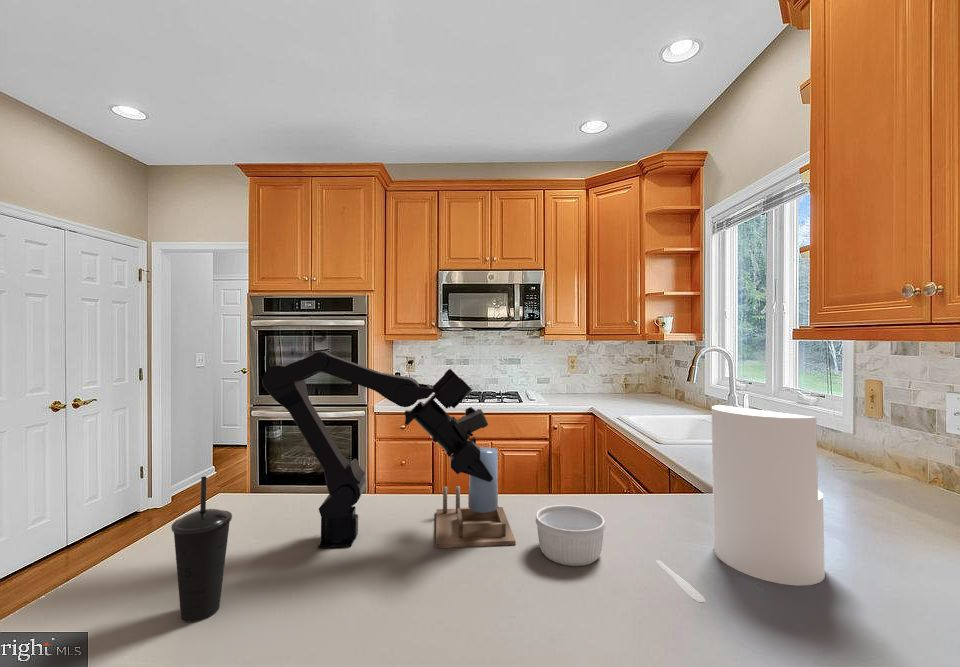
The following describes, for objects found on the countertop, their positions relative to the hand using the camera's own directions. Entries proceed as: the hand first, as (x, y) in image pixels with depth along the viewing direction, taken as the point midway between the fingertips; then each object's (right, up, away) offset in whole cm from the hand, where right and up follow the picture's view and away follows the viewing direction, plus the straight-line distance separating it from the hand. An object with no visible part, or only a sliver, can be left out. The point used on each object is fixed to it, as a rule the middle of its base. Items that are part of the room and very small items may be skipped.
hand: (489, 475), depth 90 cm
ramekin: (+16, -12, -8) cm, 21 cm away
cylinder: (+52, -12, -11) cm, 54 cm away
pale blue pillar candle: (-1, -7, 0) cm, 7 cm away
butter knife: (+31, -13, -11) cm, 35 cm away
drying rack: (-4, -12, +3) cm, 13 cm away
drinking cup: (-44, -12, -27) cm, 53 cm away
